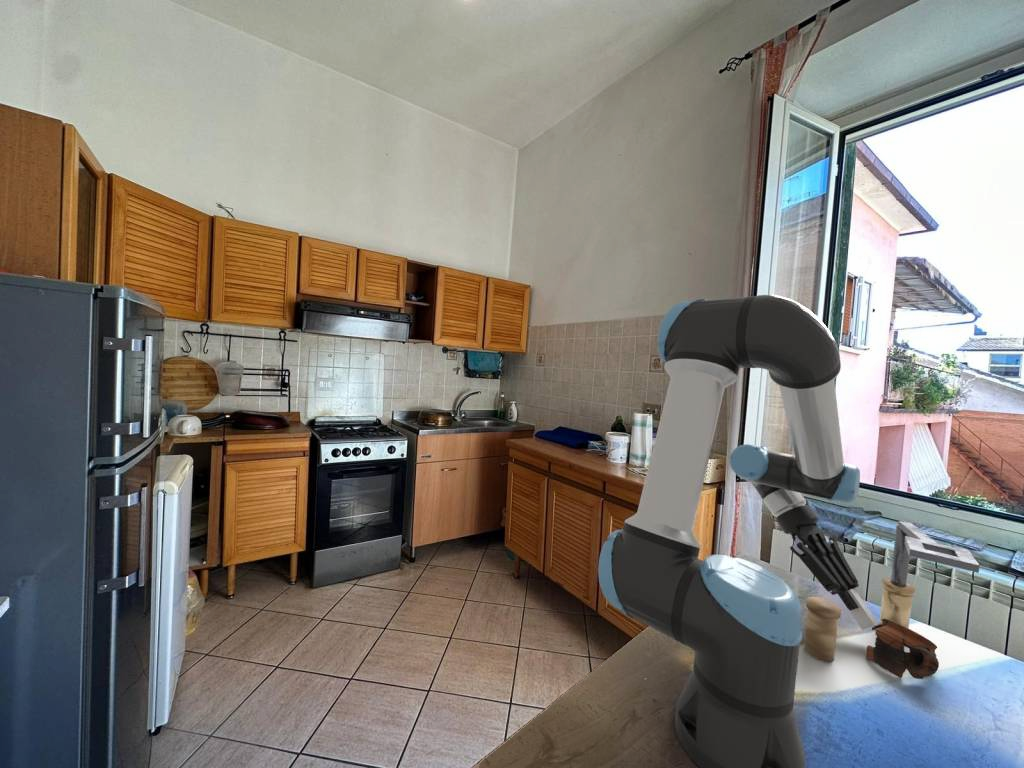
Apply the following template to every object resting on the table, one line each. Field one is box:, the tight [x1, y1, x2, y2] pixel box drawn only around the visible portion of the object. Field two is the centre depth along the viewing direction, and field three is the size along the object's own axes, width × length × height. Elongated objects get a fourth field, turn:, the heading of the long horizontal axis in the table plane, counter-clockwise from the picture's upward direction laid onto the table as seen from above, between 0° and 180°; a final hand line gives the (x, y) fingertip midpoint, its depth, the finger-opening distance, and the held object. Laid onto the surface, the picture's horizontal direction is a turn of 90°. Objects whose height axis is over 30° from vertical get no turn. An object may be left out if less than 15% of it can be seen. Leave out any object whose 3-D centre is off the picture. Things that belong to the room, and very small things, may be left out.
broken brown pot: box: [865, 619, 940, 680], centre depth 73 cm, size 12×10×8 cm
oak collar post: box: [803, 596, 842, 663], centre depth 76 cm, size 5×5×9 cm
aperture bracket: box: [879, 520, 980, 629], centre depth 78 cm, size 10×22×22 cm, turn 141°
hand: (870, 627), depth 80 cm, fingers closed
